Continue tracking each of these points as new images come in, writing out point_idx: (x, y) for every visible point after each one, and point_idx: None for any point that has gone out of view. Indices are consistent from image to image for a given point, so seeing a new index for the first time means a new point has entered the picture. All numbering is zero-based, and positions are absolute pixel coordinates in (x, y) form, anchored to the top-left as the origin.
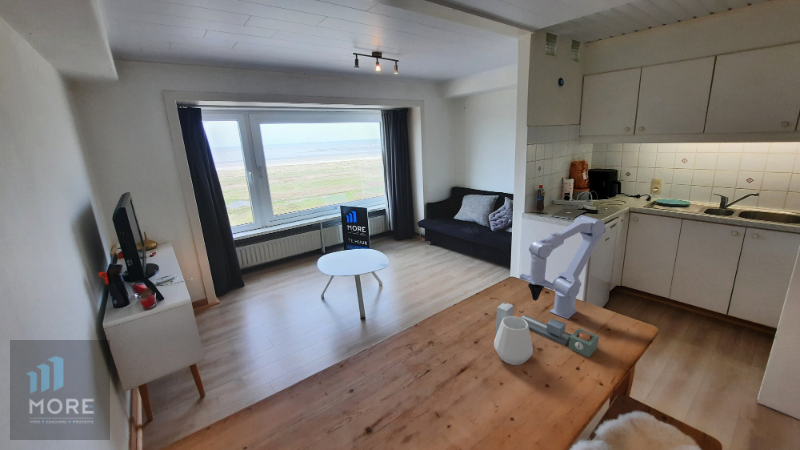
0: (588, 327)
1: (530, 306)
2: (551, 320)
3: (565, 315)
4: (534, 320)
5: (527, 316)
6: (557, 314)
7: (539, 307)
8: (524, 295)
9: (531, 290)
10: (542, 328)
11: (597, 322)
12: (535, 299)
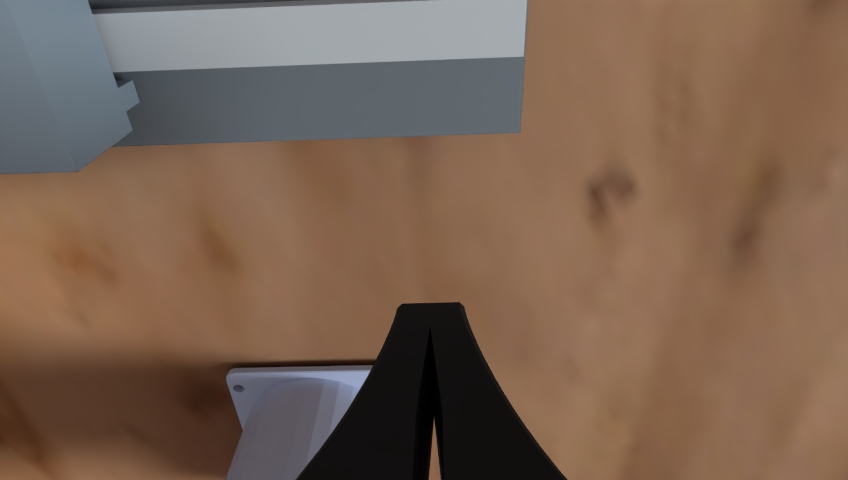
0: (61, 371)
1: (574, 335)
2: (40, 102)
3: (261, 394)
4: (376, 104)
5: (486, 122)
6: (318, 370)
7: (501, 370)
8: (698, 440)
9: (512, 467)
10: (194, 6)
11: (89, 455)
12: (397, 317)
